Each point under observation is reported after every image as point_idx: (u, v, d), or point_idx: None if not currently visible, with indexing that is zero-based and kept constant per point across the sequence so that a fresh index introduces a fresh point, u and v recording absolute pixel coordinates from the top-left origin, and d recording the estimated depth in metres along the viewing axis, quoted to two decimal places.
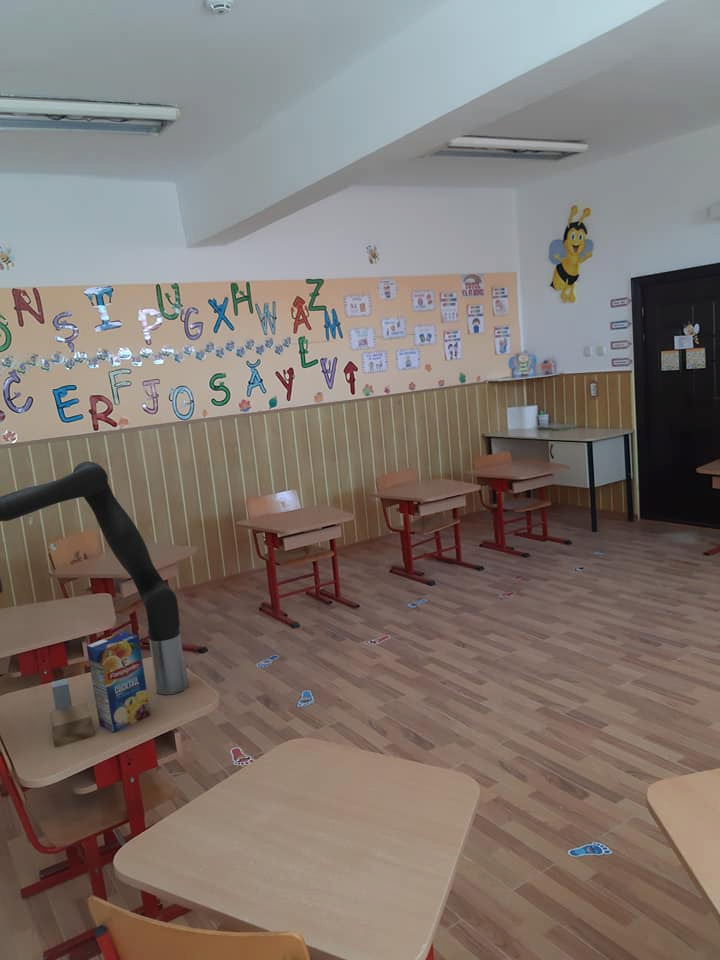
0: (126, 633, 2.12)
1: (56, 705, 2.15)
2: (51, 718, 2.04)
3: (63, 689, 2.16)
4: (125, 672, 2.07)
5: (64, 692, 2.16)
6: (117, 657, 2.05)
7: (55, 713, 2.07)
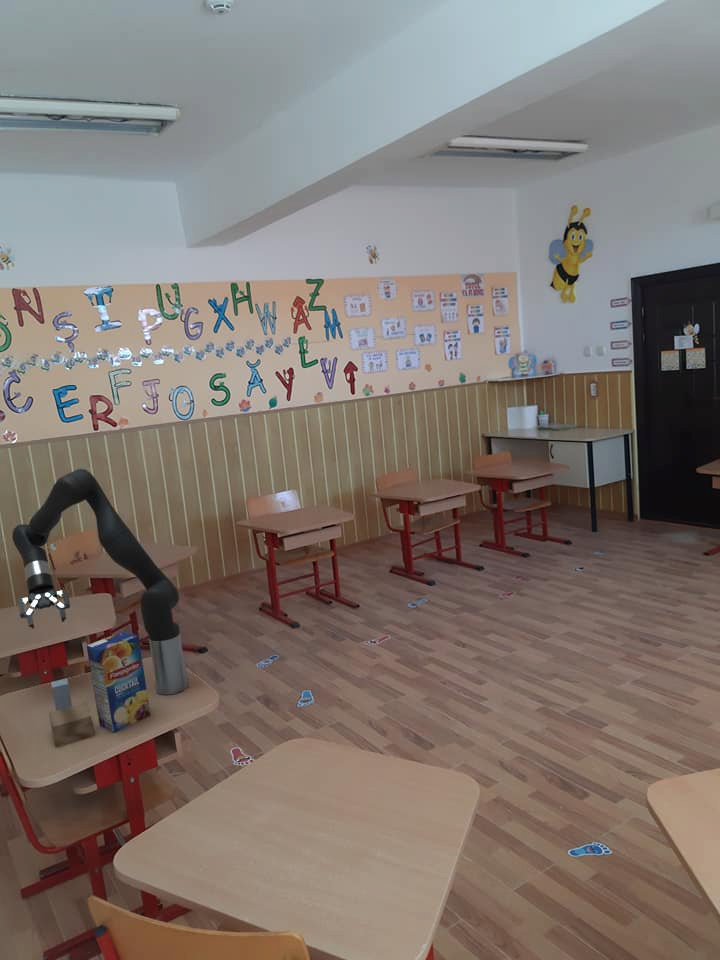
0: (126, 633, 2.12)
1: (56, 705, 2.15)
2: (51, 718, 2.04)
3: (63, 689, 2.16)
4: (125, 672, 2.07)
5: (64, 692, 2.16)
6: (117, 657, 2.05)
7: (55, 713, 2.07)
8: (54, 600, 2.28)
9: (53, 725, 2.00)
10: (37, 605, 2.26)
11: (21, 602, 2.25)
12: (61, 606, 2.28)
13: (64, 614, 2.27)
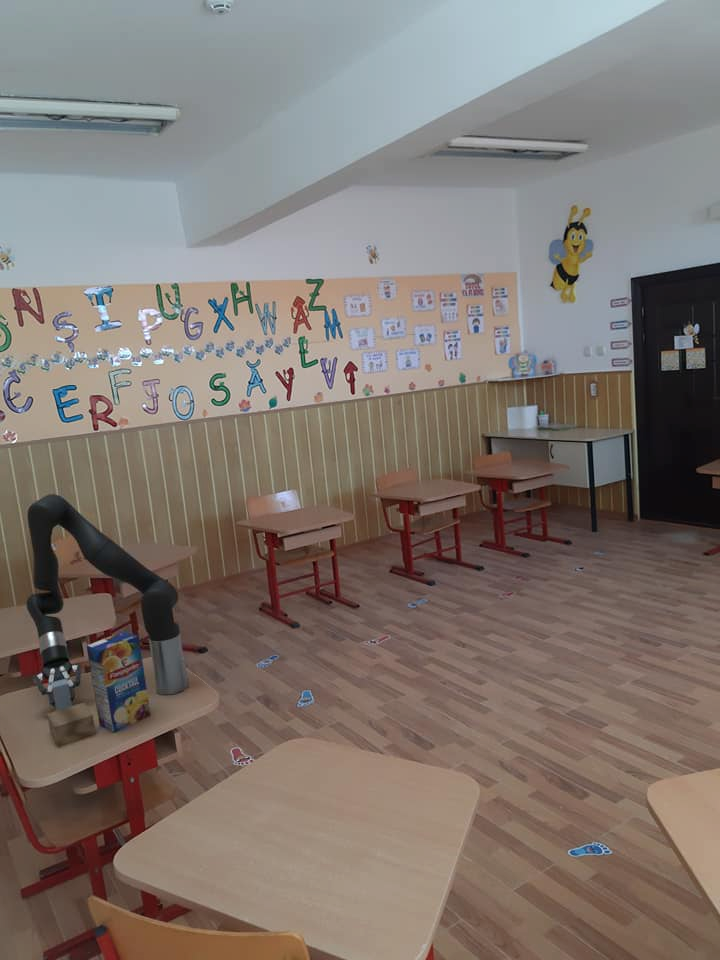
0: (126, 633, 2.12)
1: (56, 705, 2.15)
2: (51, 719, 2.04)
3: (63, 689, 2.16)
4: (125, 672, 2.07)
5: (64, 692, 2.16)
6: (117, 657, 2.05)
7: (54, 714, 2.07)
8: (66, 676, 2.20)
9: (55, 725, 2.00)
10: (55, 679, 2.19)
11: (38, 679, 2.18)
12: (70, 685, 2.19)
13: (73, 693, 2.18)
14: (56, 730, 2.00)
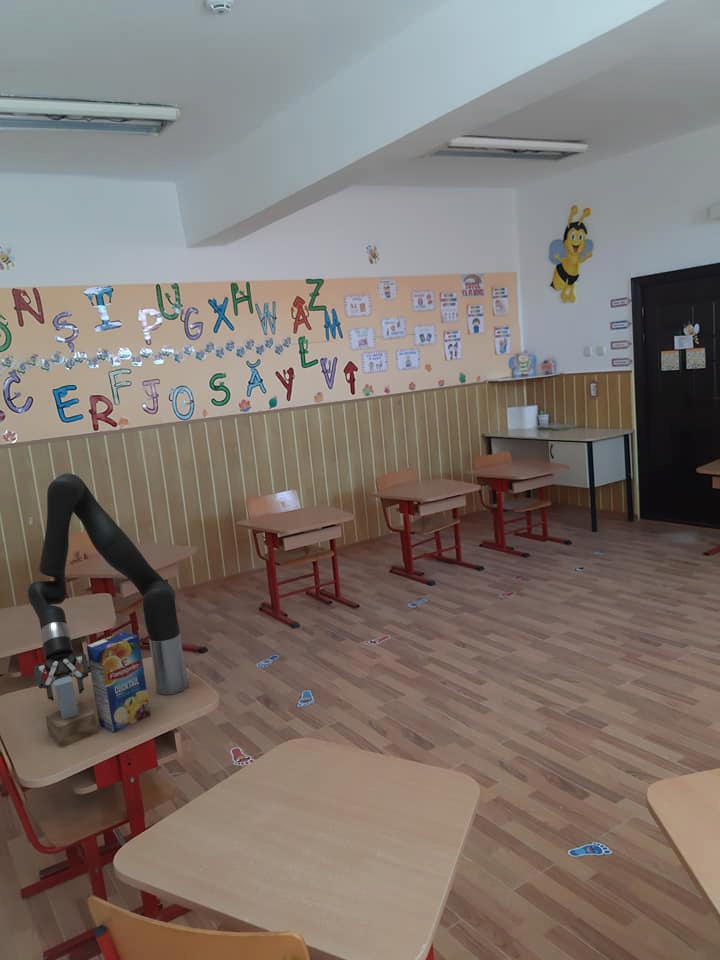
0: (126, 633, 2.12)
1: (60, 704, 2.02)
2: (51, 720, 2.03)
3: (67, 687, 2.03)
4: (125, 672, 2.07)
5: (68, 690, 2.03)
6: (117, 657, 2.05)
7: (53, 715, 2.06)
8: (72, 668, 2.07)
9: (58, 725, 2.00)
10: (56, 673, 2.06)
11: (38, 671, 2.04)
12: (78, 676, 2.06)
13: (82, 685, 2.06)
14: (59, 730, 1.99)
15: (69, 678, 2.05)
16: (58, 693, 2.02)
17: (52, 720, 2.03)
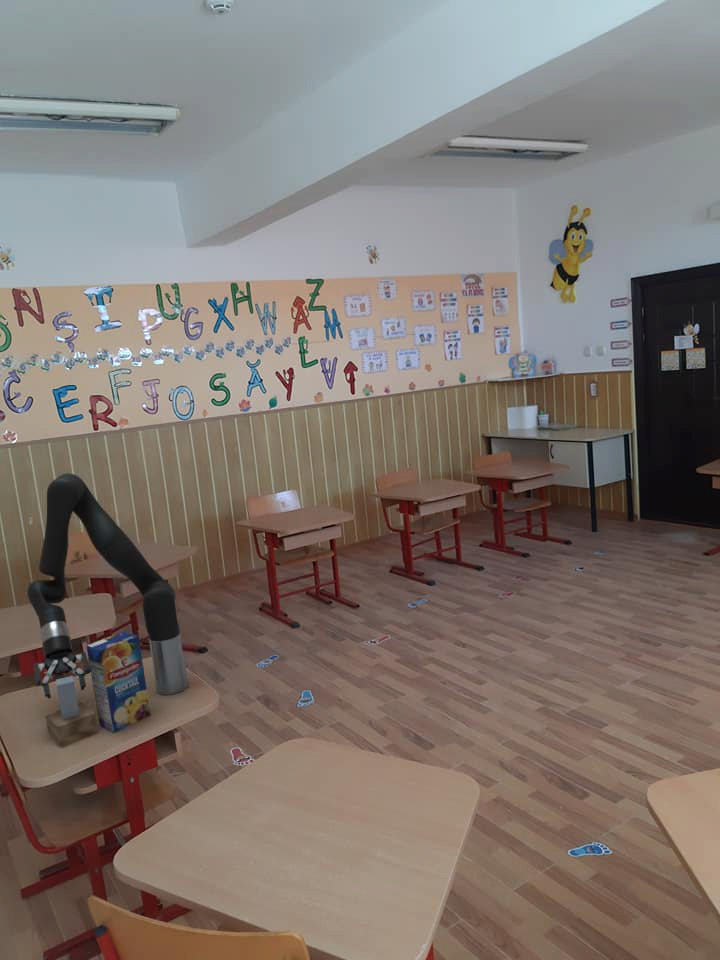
0: (126, 633, 2.12)
1: (61, 704, 2.02)
2: (51, 720, 2.03)
3: (68, 687, 2.03)
4: (125, 672, 2.07)
5: (69, 690, 2.03)
6: (117, 657, 2.05)
7: (53, 715, 2.06)
8: (73, 666, 2.08)
9: (58, 725, 2.00)
10: (54, 672, 2.06)
11: (37, 669, 2.05)
12: (80, 672, 2.08)
13: (83, 681, 2.07)
14: (59, 730, 1.99)
15: (71, 678, 2.05)
16: (59, 693, 2.02)
17: (52, 720, 2.03)
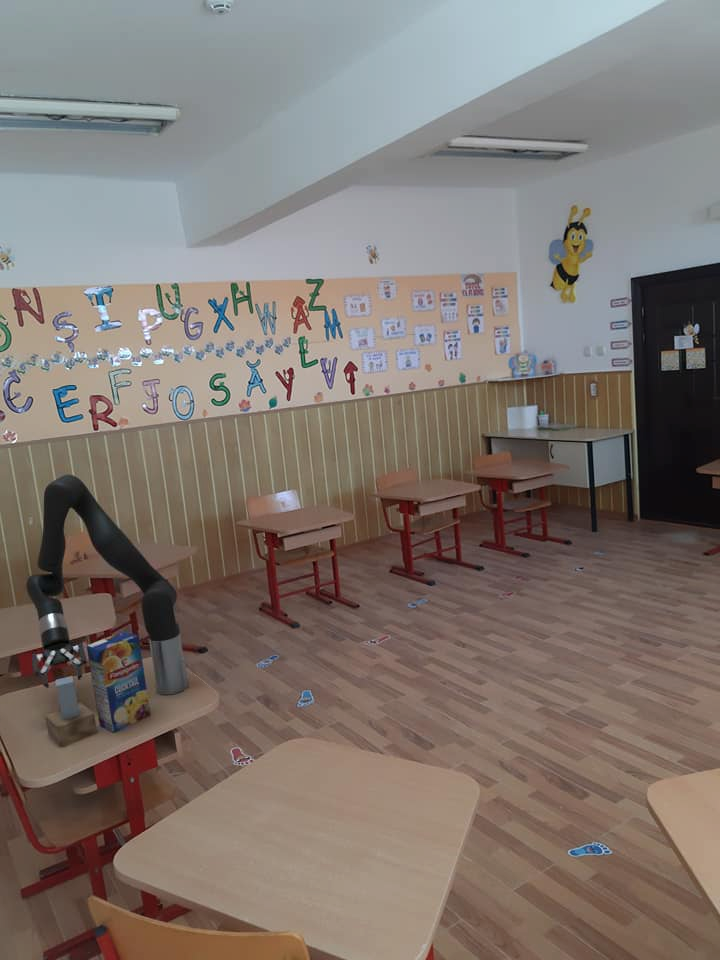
0: (126, 633, 2.12)
1: (61, 704, 2.02)
2: (51, 720, 2.03)
3: (68, 688, 2.02)
4: (125, 672, 2.07)
5: (69, 691, 2.03)
6: (117, 657, 2.05)
7: (53, 715, 2.06)
8: (70, 656, 2.15)
9: (57, 725, 2.00)
10: (52, 662, 2.14)
11: (35, 659, 2.12)
12: (77, 663, 2.15)
13: (80, 671, 2.14)
14: (59, 730, 1.99)
15: (71, 678, 2.05)
16: (59, 693, 2.02)
17: (52, 720, 2.03)
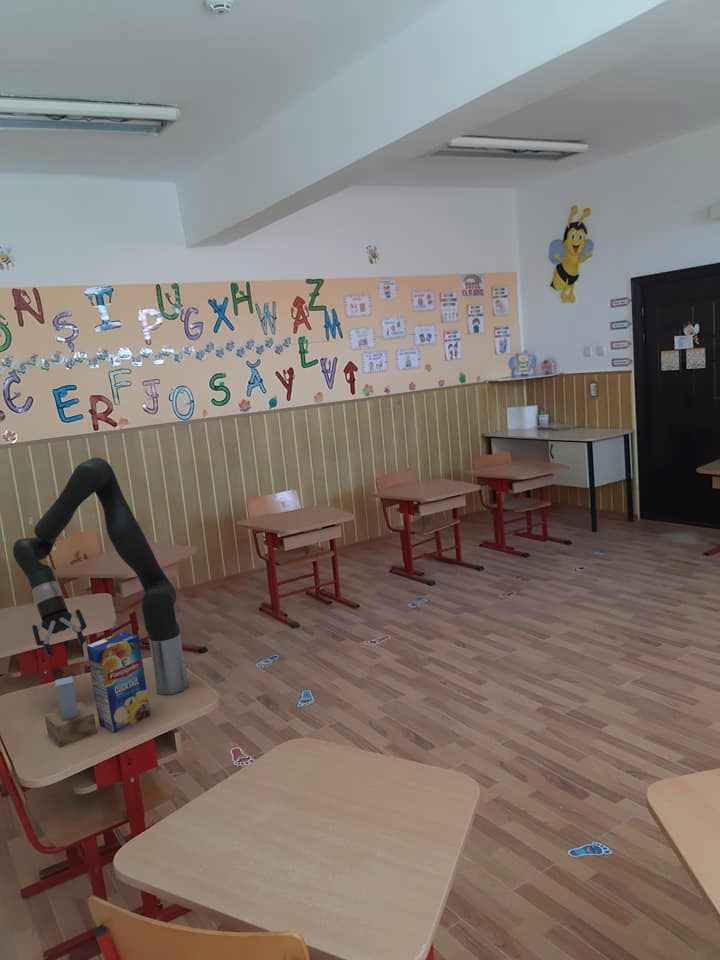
0: (126, 633, 2.12)
1: (60, 705, 2.02)
2: (51, 720, 2.04)
3: (67, 688, 2.02)
4: (125, 672, 2.07)
5: (68, 691, 2.02)
6: (117, 657, 2.05)
7: (52, 715, 2.06)
8: (70, 625, 2.20)
9: (57, 725, 2.00)
10: (53, 632, 2.18)
11: (36, 631, 2.16)
12: (78, 630, 2.20)
13: (82, 638, 2.21)
14: (59, 730, 2.00)
15: (70, 679, 2.05)
16: (58, 693, 2.02)
17: (51, 720, 2.03)
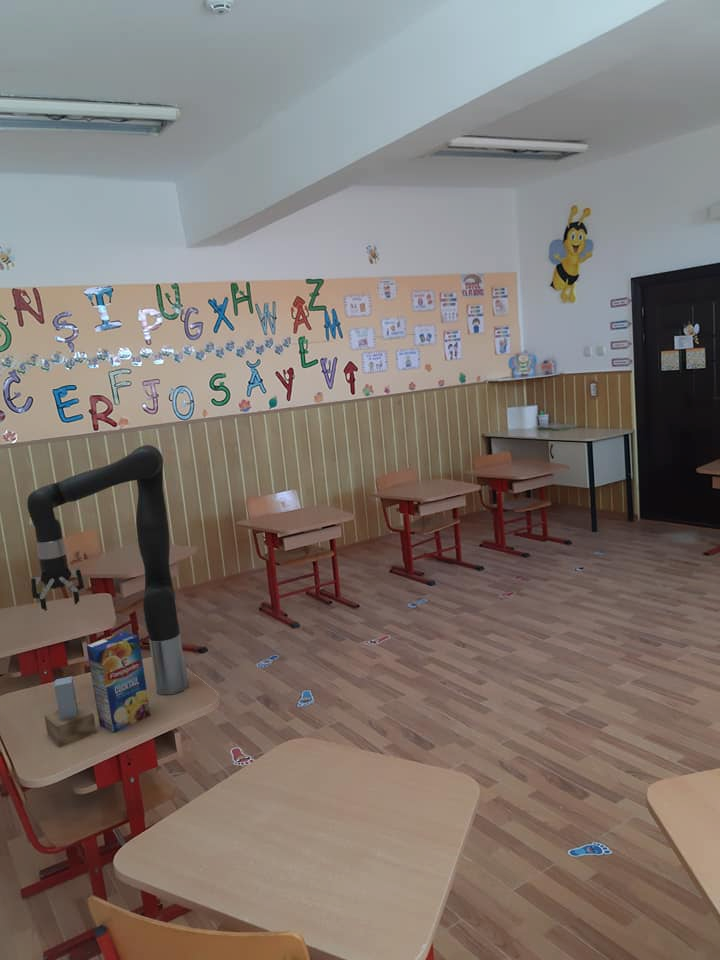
0: (126, 633, 2.12)
1: (59, 704, 2.02)
2: (50, 720, 2.04)
3: (66, 688, 2.02)
4: (125, 672, 2.07)
5: (67, 691, 2.02)
6: (117, 657, 2.05)
7: (52, 715, 2.06)
8: (68, 585, 2.21)
9: (57, 725, 2.00)
10: (50, 587, 2.20)
11: (34, 584, 2.18)
12: (75, 590, 2.23)
13: (77, 598, 2.24)
14: (58, 730, 2.00)
15: (70, 679, 2.05)
16: (57, 693, 2.02)
17: (51, 720, 2.03)
